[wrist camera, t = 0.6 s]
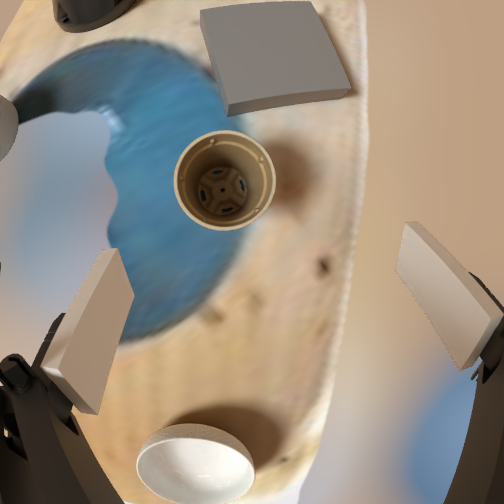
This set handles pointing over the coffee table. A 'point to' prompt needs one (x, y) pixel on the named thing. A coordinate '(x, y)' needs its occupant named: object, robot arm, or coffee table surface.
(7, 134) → the teacup
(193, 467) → the cereal bowl
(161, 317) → the coffee table surface
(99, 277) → the robot arm
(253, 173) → the flower pot
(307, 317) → the coffee table surface
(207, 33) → the plinth
